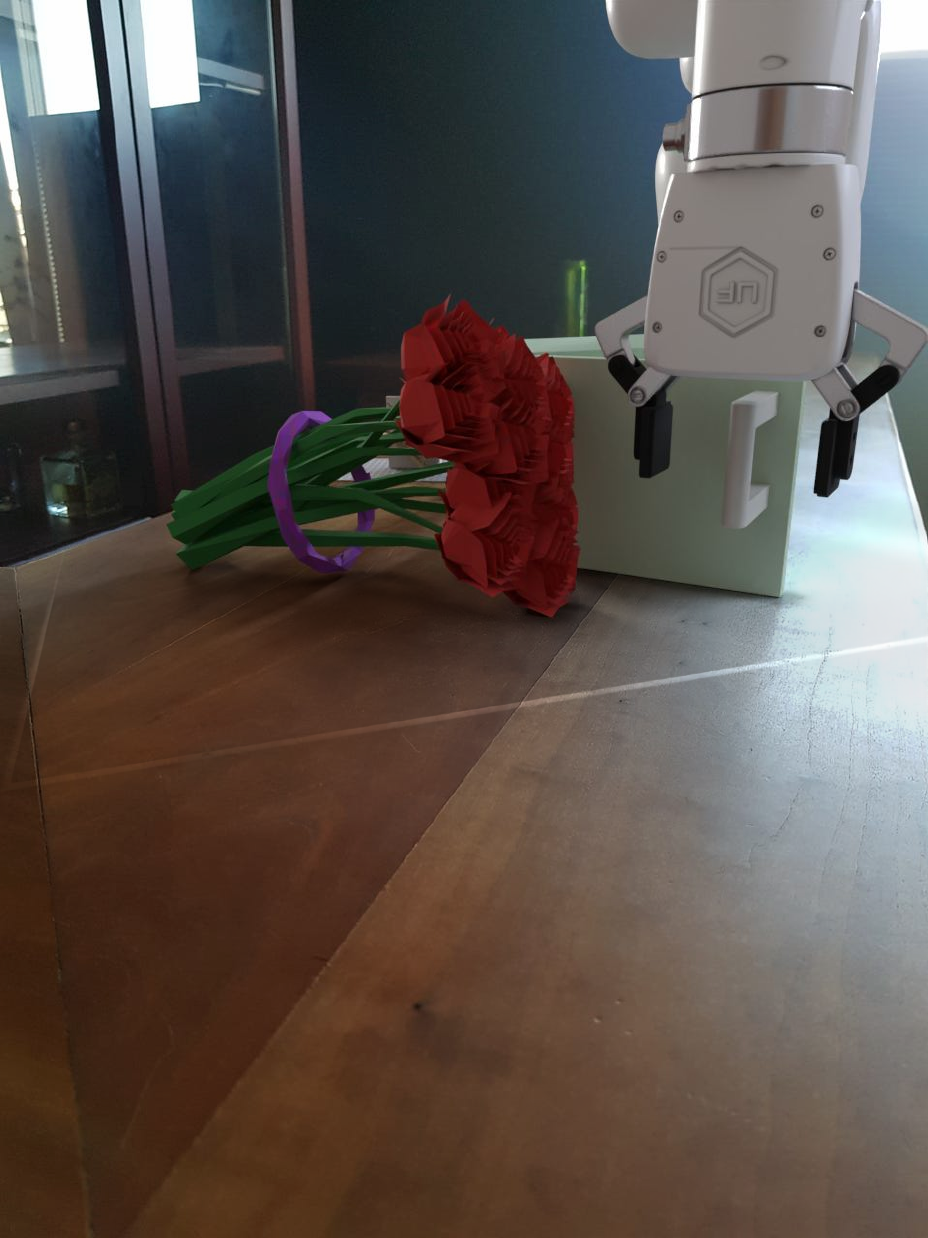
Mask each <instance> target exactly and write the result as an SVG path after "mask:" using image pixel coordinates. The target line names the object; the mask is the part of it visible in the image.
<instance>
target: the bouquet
mask: <svg viewBox="0 0 928 1238" xmlns="http://www.w3.org/2000/svg"><path fill="white" fill-rule="evenodd" d="M451 294H452V293H451V292H450V293H449V295H448V297H447V298H446V299H445V301H444V302H442V303H440V304H438V305H435V306H434V307H432V308H430V309H428V310H426V311H425V312H424V314H423V317H422V319H421V322H420V323H419V324H417V325H416V326H414V327H412V328H410V329H408V330H406V331H404V332H403V337H402V341H401V346H400V357H401V361H400V362H401V371H402V373H403V376H404V379H403V378H402V377H399V379H400V380H401V381H402V382H403V386H402V387H401V388H400V395H399V396H400V399H399V400H398V401H397V402H396V403H395V405H394V406H393V407H386V406H385V407H367V408H364V407H363V408H355V409H353V410H350V411H347V412H346V413H343V414H342V415H339V416H336V417H335V418H331V417H329V416H328V415H327V414H325V413H324V412H323V411H319V410H318V411H317V410H314V411H313V410H309V411H308V410H300V411H297V412H296V413H293V414H291V415H290V416H289V417H288V419H287V420H286V421H285V423H284V424H283V425H282V426H281V427H280V429H279V430H278V431H277V434H276V438H275V442H274V445H271V446H269V447H267V448H265V449H262V450H260V451H257V452H255V453H253V454H252V455H250V456H248V457H246V458H245V459H243V460H242V461H240V462H238V463H237V464H235V465H233V466H231V467H230V468H229V469H227V470H226V471H223V472H222V473H220V474H219V475H217V476H216V477H214V478H212V479H210V480H209V481H207V482H206V483H204V484H202V485H201V486H199V487H197V488H195V489H194V490H187V489H181V490H180V492H179V493H178V494H177V495H176V497H175V499H174V500H173V501H174V502H173V503H171V504H170V506H171V508H172V509H173V511H172V512H171V513H170V516H171V517H172V519H173V520H172V521H170V522H168V523H166V527H167V529H168V531H169V533H170V535H171V538H172V539H174V540H176V541H178V542H180V543H181V544H184V545H183V546H182V547H181V548H180V549H179V550H177V551H176V552H175V553H174V554H175V555H176V556H177V557H178V559H180V560H181V561H182V562H183V563H184V564H185V565H186V566H187V567H188V568H189V569H190V570H192V571H193V570H197V569H199V568H200V567H203V566H204V565H207V564H209V563H212V562H213V561H216V560H218V559H220V558H222V557H224V556H227V555H228V554H231V553H233V552H235V551H237V550H240V549H242V548H244V547H258V548H259V547H261V548H262V547H263V548H264V547H265V548H267V547H268V548H270V547H271V548H289V550H290V551H291V553H292V554H293V556H294V557H295V559H296V560H297V561H299V562H301V563H302V564H304V565H306V566H308V567H309V568H311V569H312V570H314V571H316V572H318V573H320V574H322V575H324V574H333V573H341V572H348V571H349V570H350V568H351V567H352V566H353V565H354V563H355V562H356V561H357V559H358V558H359V557H360V556H361V554H362V553H363V550H364V548H365V547H366V548H367V547H407V548H408V547H409V548H417V549H425V550H431V551H439V552H440V555H441V559H442V560H443V561H444V565H445V567H446V568H447V569H448V570H449V572H451V574H452V575H453V576H454V577H455V579H457V580H458V582H461V583H465V584H469V585H472V586H473V587H475V588H476V589H478V590H479V591H481V592H483V593H484V594H486V595H487V596H489V597H491V598H494V597H496V596H497V595H499V594H500V593H503V594H504V595H505V596H506V597H507V598H508V599H509V600H510V601H511V602H512V603H513V604H514V605H516V606H520V607H525V608H527V609H530V610H533V611H535V612H537V613H540V614H542V615H544V616H547V617H549V618H553V617H554V615H556V613H557V611H558V610H559V609H560V608H561V607H563V606H565V605H566V604H568V603H569V602H570V599H567V598H566V597H568V596H569V595H571V594H572V592H575V590H576V588H577V585H576V584H577V574H578V568H577V566H578V558H579V553H580V547H579V545H573V543H578V541H577V540H576V539H575V538H574V536H576V534H577V533H579V532H578V531H577V526H578V507H577V505H578V503H577V500H576V497H575V494H574V491H573V489H572V487H571V486H572V485H571V484H573V483H574V475H573V474H574V453H573V442H572V441H571V440H572V438H574V437H575V436H574V430H573V429H574V428H575V427H574V421H575V419H574V415H575V412H574V411H575V408H574V403H573V397H570V395H572V392H571V390H570V388H569V386H568V385H567V383H566V381H565V379H564V377H563V375H561V372H560V370H559V367H557V366H556V363H555V360H554V358H553V356H551V357H549V354H548V353H544V354H542V355H540V356H538V357H535V356H534V355H533V353H532V352H531V350H530V349H529V347H528V346H527V344H526V342H525V340H524V339H525V338H524V337H522V336H518V337H516V333H513V334H512V335H510V333H509V332H508V330H507V329H506V327H505V325H500V326H498V327H496V328H494V327H492V326H491V324H492V322H493V321H494V319H495V317H494V318H492V320H491V321H490V323H489V324H488V323H487V321H486V320H484V318H483V317H481V316H480V315H479V314H478V312H476V311H475V310H474V309H473V308H472V306H471V305H470V304H469V302H468V301H467V300H465V299H461V300H460V301H459V302H458V303H457V304H456V306H454V308H453V309H452V310H450V311H449V312H448V313H446V312H447V308H448V305H449V303H450V302H449V301H450V299H451ZM397 416H400V418H396V417H397ZM375 419H376V420H377V419H379V420H377V421H368V420H375ZM363 421H366V422H363ZM305 428H306V429H307V430H305V431H303V430H304V429H305ZM394 429H396V430H394ZM387 430H394V431H393V432H391V433H390V434H385V435H383V433H386V432H387ZM328 439H329V440H328ZM404 441H406V443H405V445H407V446H409V447H412V448H389V447H390V446H392V445H393V444H394V443H399V442H404ZM410 455H423V456H424V457H425V458H426V459H429V458H438V459H442V460H447V461H448V462H443V463H439V464H434V465H430V466H426V467H421V468H417V469H412V470H408V471H403V472H399V473H395V474H390V475H386V476H382V477H377V478H373V479H371V476H370V472H369V473H366V471H365V469H364V467H363V464H365V463H367V462H369V461H370V460H372V459H374V458H378V457H379V456H380V457H383V456H384V457H386V456H387V457H389V456H410ZM350 472H351V475H352V477H353V479H354V480H353V482H352V483H347V484H343V485H339V486H332V485H331V484H333V483H334V482H336V481H339V480H338V479H339V478H341V477H343V476H344V475H346V474H348V473H350ZM446 472H447V477H446V481H445V484H444V487H445V488H444V487H433V486H420V485H419V486H417V485H410V486H402V485H404V484H408V483H413V482H417V481H416V480H420V479H424V478H427V477H431V476H435V475H439V474H443V473H446ZM329 485H331V486H329ZM397 486H401V487H397ZM416 497H418V498H419V497H420V498H421V497H440V498H441V500H442V502H443V503H440V502H431V501H425V500H416V499H409V498H416ZM378 509H380V510H383V511H385V512H387V513H390V514H393V515H395V516H397V517H400V518H403V519H406V520H408V521H409V522H412V523H415V524H417V525H419V526H421V527H424V528H426V529H428V530H430V531H433V532H435V534H433V536H434V537H431V536H430V537H429V536H424V535H423V536H422V535H418V534H417V535H416V534H411V533H403V532H402V533H400V532H381V531H380V532H378V531H371V530H372V529H373V526H374V523H375V520H376V510H378ZM409 510H411V511H419V512H420V511H421V512H427V513H436V514H443V515H445V518H444V522H443V523H442V526H440V525H438V524H436V523H434V522H432V521H429V520H428V519H426V518H424V517H422V516H419V514H415V513H414V512H411V511H409ZM353 514H357V525H356V528H355V530H333V529H313V528H312V529H311V528H310V529H309V528H308V529H307V528H301V526H303V525H307V524H312V523H317V522H322V521H326V520H330V519H335V518H339V517H344V516H349V515H353ZM340 547H341V548H342V547H343V548H344V547H346V548H345V549H344V551H343V552H341V553H339V554H337V555H336V556H333V557H327V556H325V555H321V554H319V553H318V552H317V551H316V549H315V548H340Z"/></svg>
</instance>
